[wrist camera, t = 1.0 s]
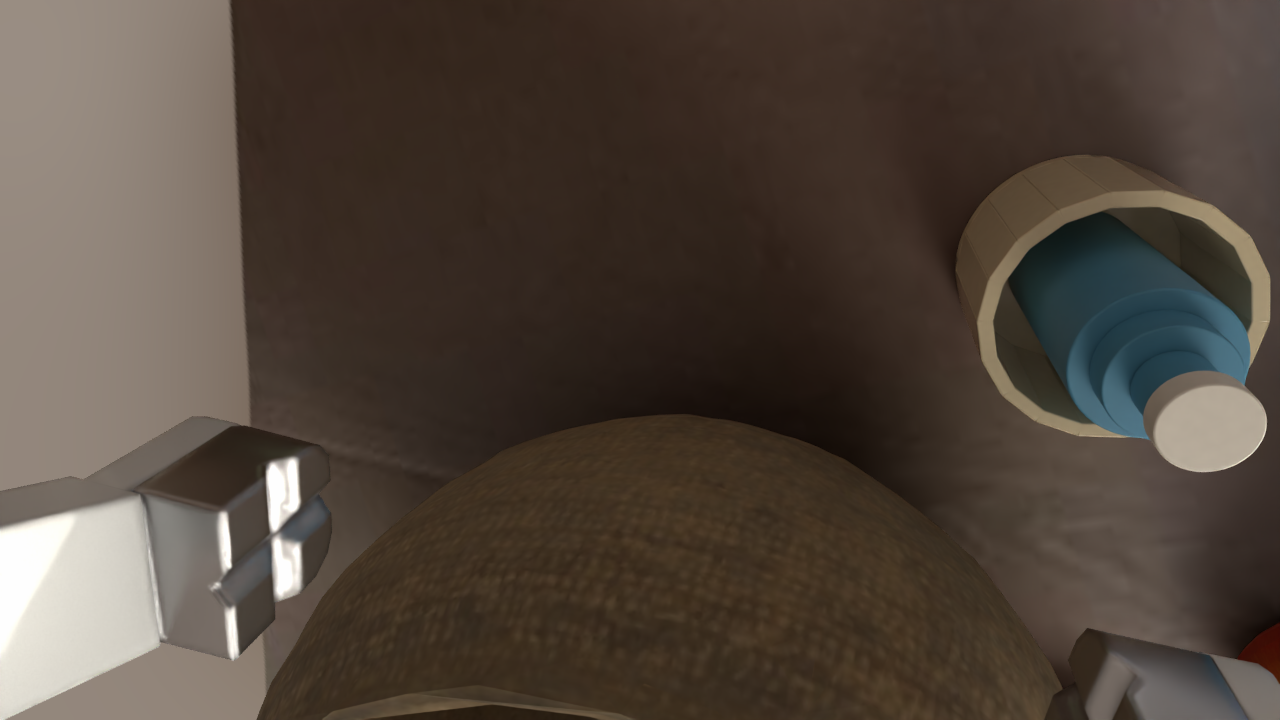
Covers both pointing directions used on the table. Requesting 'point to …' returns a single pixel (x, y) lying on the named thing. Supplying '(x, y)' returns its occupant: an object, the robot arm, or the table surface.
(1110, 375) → the bottle
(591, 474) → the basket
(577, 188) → the table surface
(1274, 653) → the fruit
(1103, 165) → the bucket
